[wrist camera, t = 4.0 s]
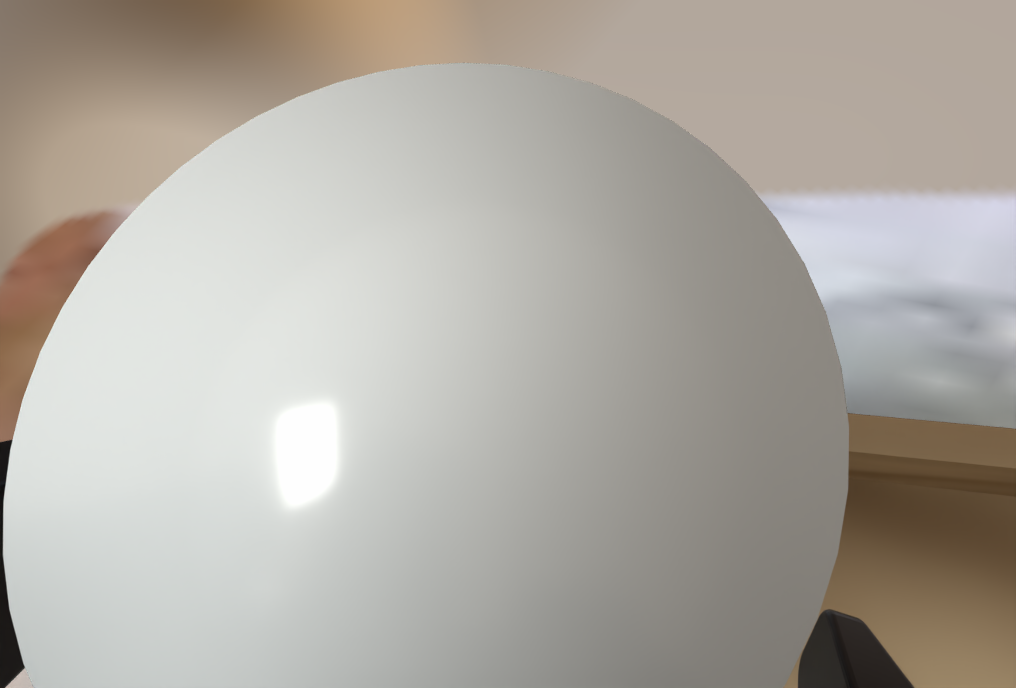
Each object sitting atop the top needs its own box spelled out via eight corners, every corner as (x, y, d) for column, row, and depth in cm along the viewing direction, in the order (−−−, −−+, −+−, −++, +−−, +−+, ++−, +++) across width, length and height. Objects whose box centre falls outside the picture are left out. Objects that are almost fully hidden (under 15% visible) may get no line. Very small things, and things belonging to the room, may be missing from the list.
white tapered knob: (657, 684, 15) (885, 1067, 3) (416, 643, 16) (-149, 795, 4) (668, 438, 17) (827, 60, 5) (455, 416, 18) (163, 64, 6)
